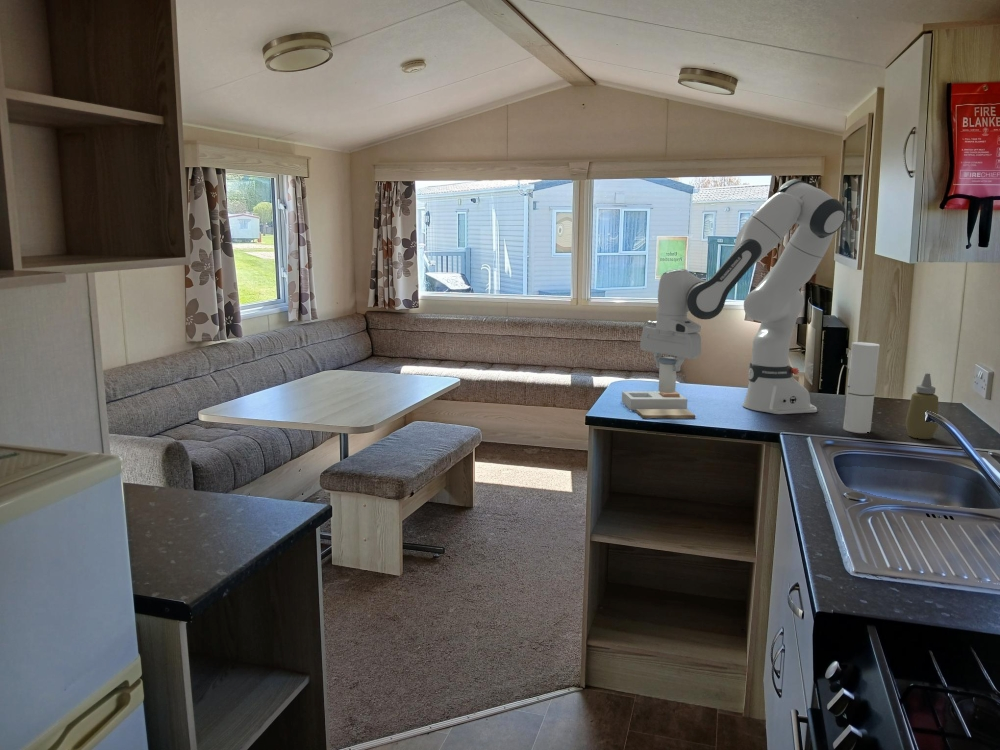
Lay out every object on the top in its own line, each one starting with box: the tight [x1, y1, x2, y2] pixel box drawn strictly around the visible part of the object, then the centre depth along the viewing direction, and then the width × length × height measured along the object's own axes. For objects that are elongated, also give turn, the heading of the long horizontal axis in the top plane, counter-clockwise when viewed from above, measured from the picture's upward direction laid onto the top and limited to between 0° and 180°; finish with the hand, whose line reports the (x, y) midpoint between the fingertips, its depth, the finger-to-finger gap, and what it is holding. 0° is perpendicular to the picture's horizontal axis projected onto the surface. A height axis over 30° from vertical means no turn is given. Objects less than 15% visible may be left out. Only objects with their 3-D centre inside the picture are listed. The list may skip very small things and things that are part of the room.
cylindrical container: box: [842, 341, 881, 434], centre depth 220 cm, size 7×7×25 cm
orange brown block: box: [660, 390, 681, 397], centre depth 248 cm, size 5×5×4 cm
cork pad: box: [635, 408, 696, 419], centre depth 236 cm, size 16×8×1 cm, turn 95°
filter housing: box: [621, 390, 688, 411], centre depth 248 cm, size 18×12×4 cm, turn 95°
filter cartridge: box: [658, 356, 678, 393], centre depth 233 cm, size 5×5×10 cm
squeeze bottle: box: [905, 372, 939, 440], centre depth 214 cm, size 8×8×18 cm
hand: (667, 369), depth 233 cm, fingers closed on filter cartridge, 5 cm apart
